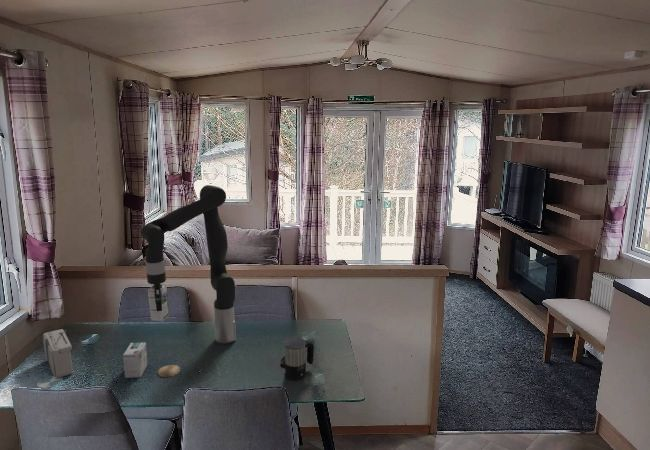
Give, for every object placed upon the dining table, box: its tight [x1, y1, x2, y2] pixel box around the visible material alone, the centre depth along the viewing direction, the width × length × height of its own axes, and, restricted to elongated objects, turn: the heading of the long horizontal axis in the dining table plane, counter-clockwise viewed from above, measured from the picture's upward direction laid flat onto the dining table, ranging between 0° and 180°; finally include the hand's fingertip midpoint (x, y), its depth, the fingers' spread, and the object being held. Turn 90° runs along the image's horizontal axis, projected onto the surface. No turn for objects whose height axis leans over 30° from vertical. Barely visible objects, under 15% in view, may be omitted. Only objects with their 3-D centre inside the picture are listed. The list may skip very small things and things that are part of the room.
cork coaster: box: [157, 364, 181, 378], centre depth 206 cm, size 9×9×1 cm
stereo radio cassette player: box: [42, 328, 74, 379], centre depth 206 cm, size 21×8×20 cm, turn 37°
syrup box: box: [147, 284, 170, 322], centre depth 208 cm, size 6×6×14 cm
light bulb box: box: [122, 342, 148, 379], centre depth 205 cm, size 11×7×11 cm, turn 5°
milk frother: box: [280, 337, 315, 381], centre depth 206 cm, size 14×16×15 cm
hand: (159, 307), depth 208 cm, fingers closed on syrup box, 7 cm apart
